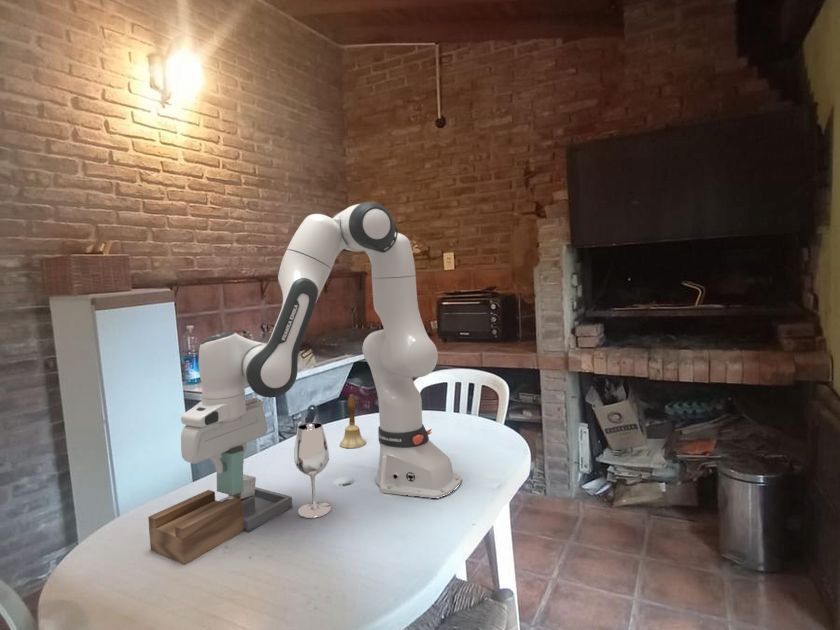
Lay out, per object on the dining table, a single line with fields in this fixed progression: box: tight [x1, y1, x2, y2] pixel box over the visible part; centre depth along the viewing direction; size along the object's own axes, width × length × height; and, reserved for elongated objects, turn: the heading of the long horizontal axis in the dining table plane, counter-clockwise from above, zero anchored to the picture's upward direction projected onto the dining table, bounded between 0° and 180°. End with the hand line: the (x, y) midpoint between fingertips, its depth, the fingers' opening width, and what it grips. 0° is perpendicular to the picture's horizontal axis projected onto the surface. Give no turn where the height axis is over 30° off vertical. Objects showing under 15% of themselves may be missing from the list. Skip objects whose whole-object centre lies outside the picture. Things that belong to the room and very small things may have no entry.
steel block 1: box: [227, 473, 257, 499], centre depth 116 cm, size 4×4×4 cm
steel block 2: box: [228, 495, 256, 517], centre depth 116 cm, size 4×4×4 cm
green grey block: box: [216, 446, 244, 495], centre depth 113 cm, size 5×3×10 cm, turn 60°
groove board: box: [147, 489, 245, 565], centre depth 106 cm, size 11×14×7 cm
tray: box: [218, 486, 293, 533], centre depth 118 cm, size 14×13×2 cm
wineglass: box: [293, 422, 332, 519], centre depth 117 cm, size 8×8×20 cm
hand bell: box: [339, 393, 367, 449], centre depth 162 cm, size 8×8×16 cm
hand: (230, 468), depth 113 cm, fingers closed on green grey block, 3 cm apart
